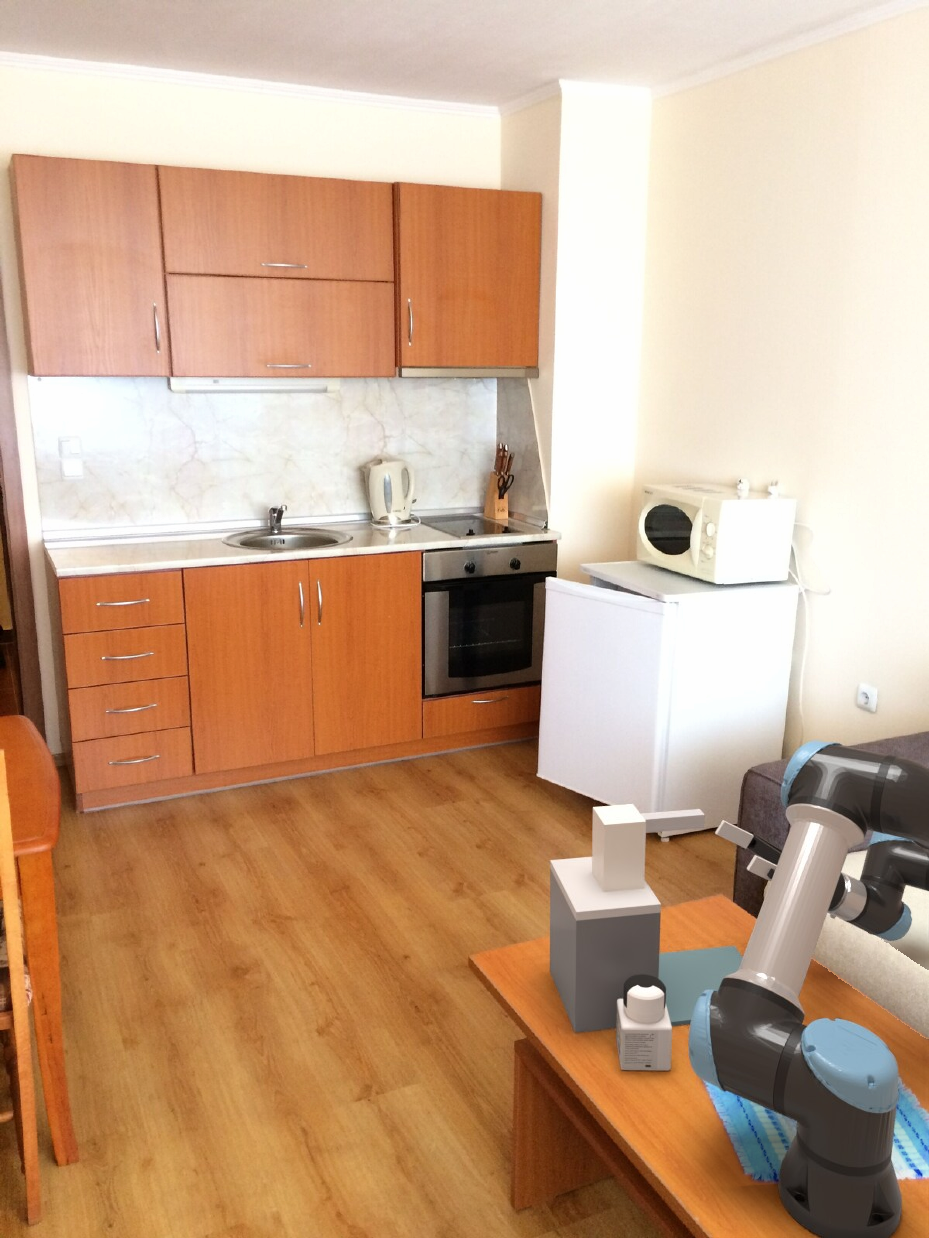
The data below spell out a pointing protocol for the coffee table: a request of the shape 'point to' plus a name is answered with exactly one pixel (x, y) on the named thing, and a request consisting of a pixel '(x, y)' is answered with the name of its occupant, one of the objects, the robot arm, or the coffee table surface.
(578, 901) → the stand
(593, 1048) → the coffee table surface
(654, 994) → the container
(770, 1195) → the coffee table surface
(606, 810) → the tall white block
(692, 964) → the mat
